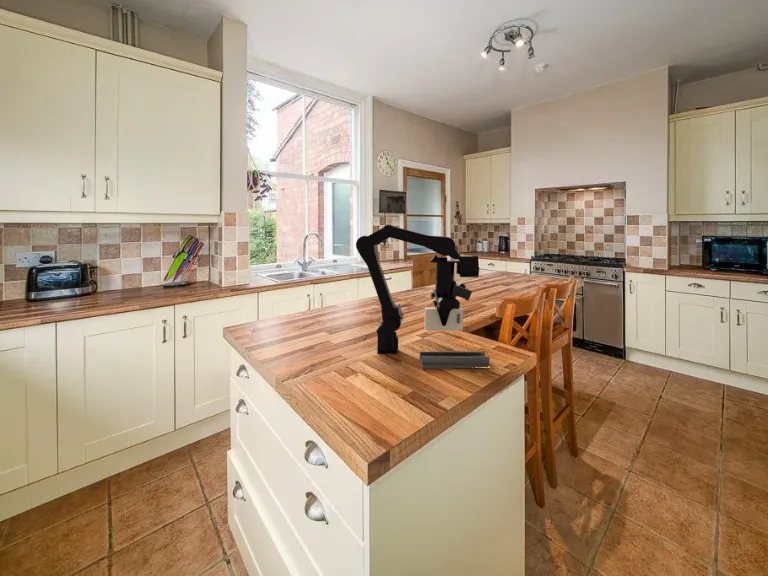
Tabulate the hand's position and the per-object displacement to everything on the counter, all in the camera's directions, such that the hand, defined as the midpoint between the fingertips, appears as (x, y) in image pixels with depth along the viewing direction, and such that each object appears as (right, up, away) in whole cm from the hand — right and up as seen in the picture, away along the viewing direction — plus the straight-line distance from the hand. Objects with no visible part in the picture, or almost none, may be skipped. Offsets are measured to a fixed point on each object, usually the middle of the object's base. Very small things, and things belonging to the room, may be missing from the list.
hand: (443, 324), depth 116 cm
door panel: (0, -2, 0) cm, 2 cm away
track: (+2, -11, -7) cm, 13 cm away
